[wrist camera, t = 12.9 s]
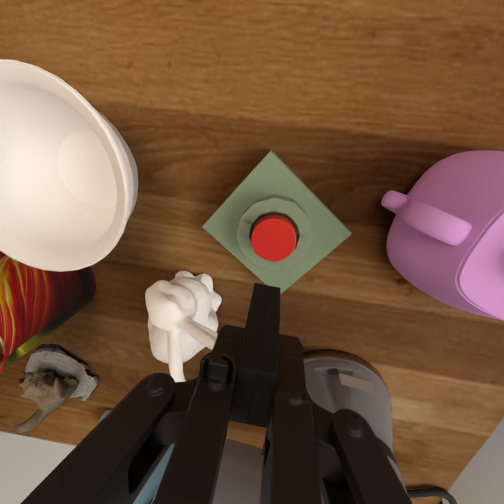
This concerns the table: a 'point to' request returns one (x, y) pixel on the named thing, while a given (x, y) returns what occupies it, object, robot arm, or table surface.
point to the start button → (273, 237)
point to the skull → (52, 382)
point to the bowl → (59, 173)
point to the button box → (282, 203)
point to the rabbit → (181, 319)
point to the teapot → (453, 232)
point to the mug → (36, 304)
